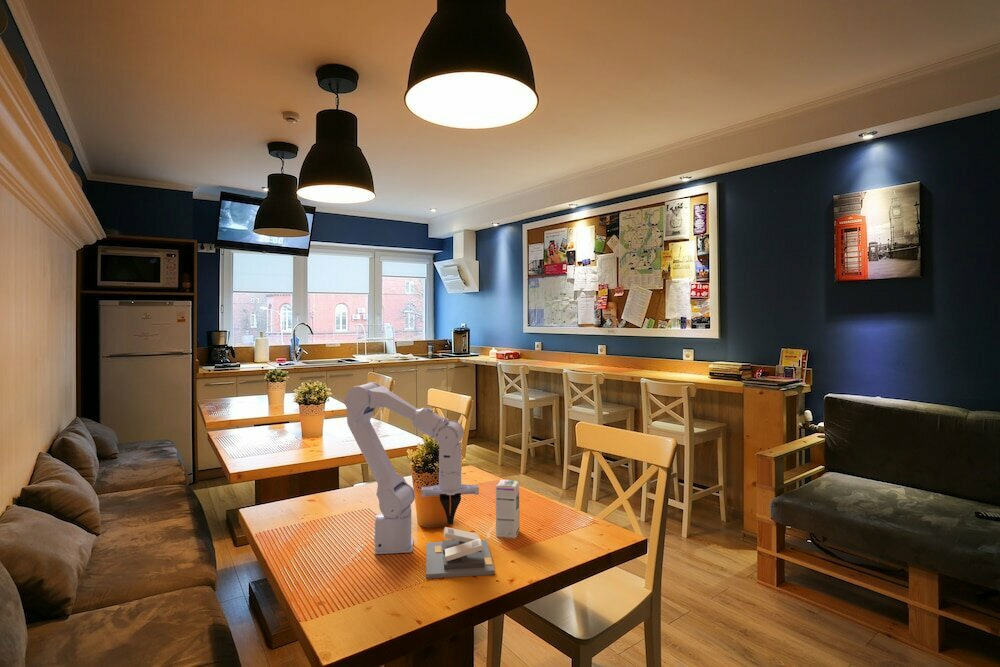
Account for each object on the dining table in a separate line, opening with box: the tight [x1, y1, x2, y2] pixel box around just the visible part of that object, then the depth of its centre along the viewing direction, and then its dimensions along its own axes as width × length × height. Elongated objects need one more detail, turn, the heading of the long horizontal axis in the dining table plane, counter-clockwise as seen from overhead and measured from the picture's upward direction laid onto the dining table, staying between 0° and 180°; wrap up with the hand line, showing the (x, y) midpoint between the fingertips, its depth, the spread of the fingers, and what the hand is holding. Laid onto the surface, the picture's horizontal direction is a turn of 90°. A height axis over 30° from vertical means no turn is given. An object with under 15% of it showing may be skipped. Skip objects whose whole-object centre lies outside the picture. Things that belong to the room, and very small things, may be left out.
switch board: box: [425, 539, 496, 580], centre depth 131 cm, size 16×17×3 cm
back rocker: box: [443, 526, 480, 542], centre depth 135 cm, size 9×4×1 cm, turn 98°
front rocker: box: [445, 537, 483, 561], centre depth 127 cm, size 9×4×1 cm, turn 97°
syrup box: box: [495, 479, 521, 539], centre depth 147 cm, size 6×6×14 cm
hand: (450, 522), depth 134 cm, fingers closed
